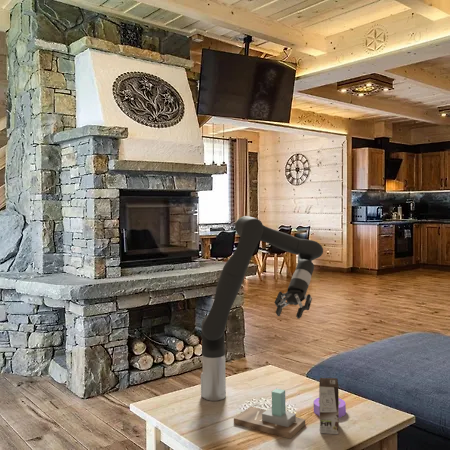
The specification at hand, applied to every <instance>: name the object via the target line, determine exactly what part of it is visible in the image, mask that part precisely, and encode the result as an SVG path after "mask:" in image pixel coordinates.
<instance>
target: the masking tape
mask: <svg viewBox="0 0 450 450" xmlns="http://www.w3.org/2000/svg"><path fill="white" fill-rule="evenodd" d="M346 406H347V403H346V401H345V400H343V399H342V398H340V397H339V419H340V418H342V416H343V417H344V416H345V415H346V413H347V412H346V411H347V410H346V409H347V407H346ZM313 414H315V415H316V416H319V417H320V406H319V397H316V398H315V399H314V400H313Z"/></svg>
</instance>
